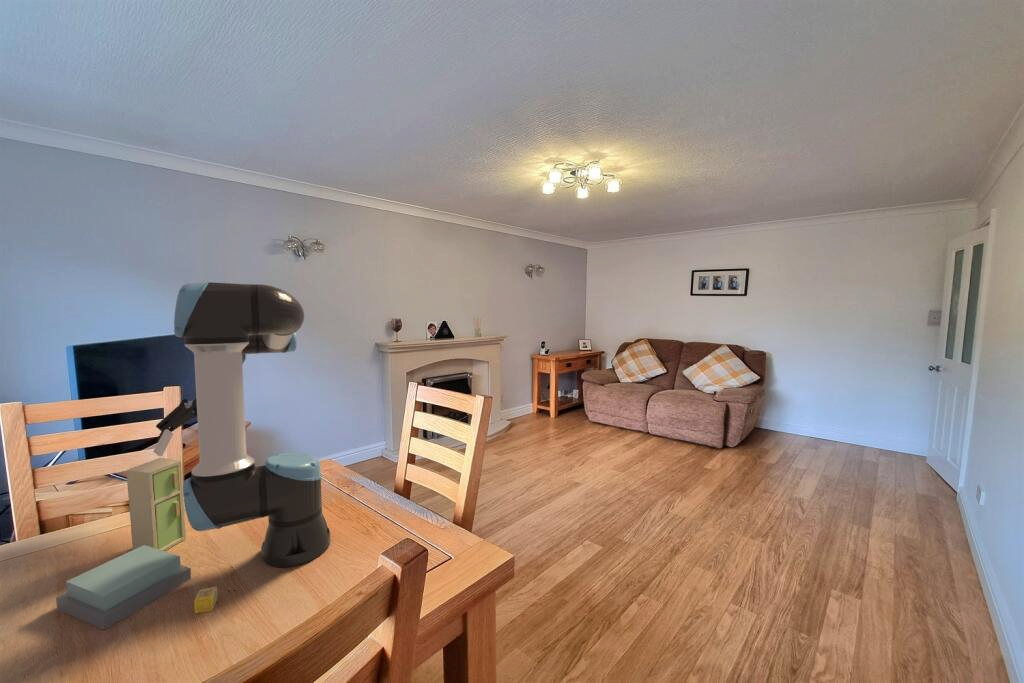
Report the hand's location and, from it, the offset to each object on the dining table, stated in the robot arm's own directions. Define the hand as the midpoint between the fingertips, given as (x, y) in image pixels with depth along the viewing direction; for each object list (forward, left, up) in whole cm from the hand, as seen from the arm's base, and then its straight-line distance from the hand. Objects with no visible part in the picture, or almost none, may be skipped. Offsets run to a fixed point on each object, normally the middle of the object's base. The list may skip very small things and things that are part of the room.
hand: (185, 453), depth 109 cm
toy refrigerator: (-5, +9, -20) cm, 23 cm away
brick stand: (-17, +22, -20) cm, 34 cm away
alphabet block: (-36, +19, -20) cm, 45 cm away
